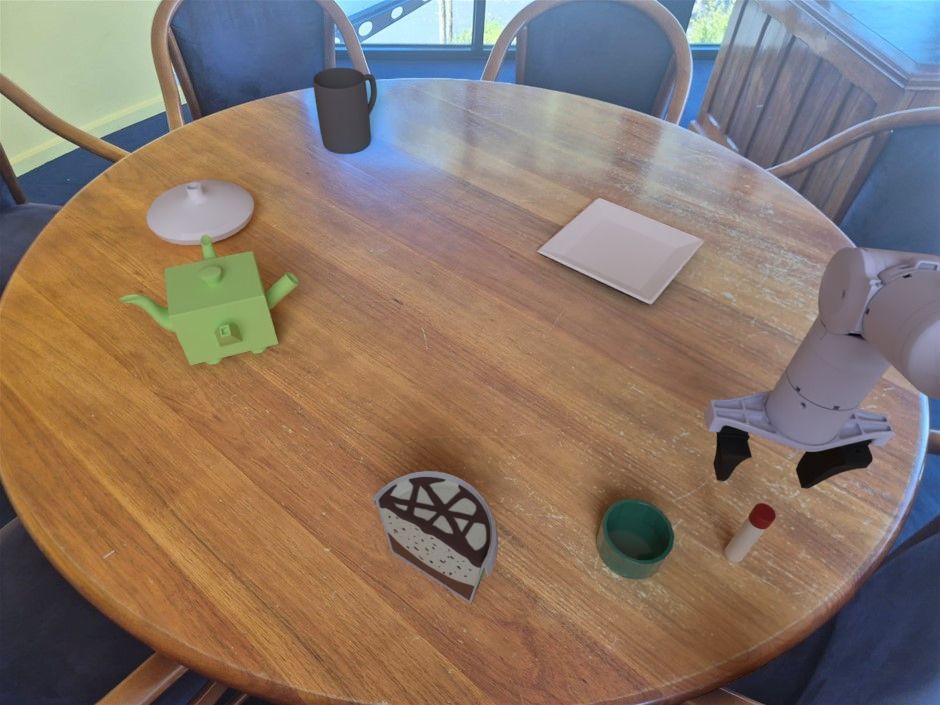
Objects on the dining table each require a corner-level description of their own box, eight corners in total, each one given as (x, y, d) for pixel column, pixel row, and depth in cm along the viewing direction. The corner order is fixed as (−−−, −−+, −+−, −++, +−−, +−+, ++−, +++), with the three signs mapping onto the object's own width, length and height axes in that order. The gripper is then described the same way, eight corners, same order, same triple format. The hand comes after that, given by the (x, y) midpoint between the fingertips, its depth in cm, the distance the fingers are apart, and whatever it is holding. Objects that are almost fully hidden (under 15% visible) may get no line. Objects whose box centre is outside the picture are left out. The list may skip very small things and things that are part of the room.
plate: (535, 261, 93) (536, 250, 92) (596, 206, 104) (598, 195, 102) (647, 314, 86) (651, 303, 84) (701, 250, 96) (705, 239, 95)
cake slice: (516, 559, 61) (526, 509, 54) (484, 613, 57) (489, 566, 50) (415, 498, 65) (411, 444, 58) (379, 544, 62) (369, 492, 54)
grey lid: (136, 221, 98) (119, 181, 92) (230, 187, 105) (219, 148, 100) (178, 270, 90) (162, 230, 84) (276, 230, 97) (267, 190, 92)
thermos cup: (678, 562, 61) (688, 546, 59) (621, 591, 59) (629, 575, 57) (638, 506, 65) (646, 489, 63) (583, 530, 63) (589, 514, 61)
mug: (348, 160, 112) (340, 94, 103) (312, 144, 115) (300, 79, 106) (396, 131, 120) (392, 67, 111) (361, 117, 123) (354, 55, 114)
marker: (747, 558, 62) (780, 517, 56) (732, 566, 61) (764, 525, 55) (734, 542, 63) (765, 499, 57) (719, 549, 62) (749, 507, 56)
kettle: (147, 358, 78) (112, 291, 70) (218, 290, 87) (194, 223, 79) (248, 394, 74) (224, 327, 66) (311, 319, 84) (296, 252, 75)
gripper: (900, 351, 50) (826, 446, 60) (720, 337, 51) (676, 433, 61) (937, 421, 46) (850, 512, 56) (738, 404, 46) (687, 497, 56)
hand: (760, 475), depth 58 cm, fingers open, 7 cm apart
